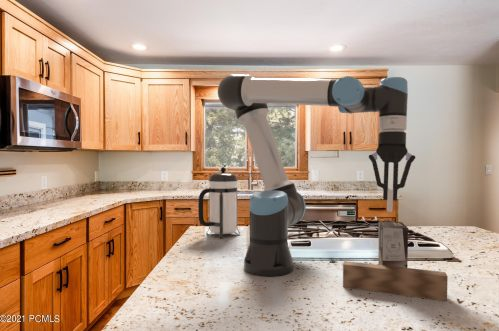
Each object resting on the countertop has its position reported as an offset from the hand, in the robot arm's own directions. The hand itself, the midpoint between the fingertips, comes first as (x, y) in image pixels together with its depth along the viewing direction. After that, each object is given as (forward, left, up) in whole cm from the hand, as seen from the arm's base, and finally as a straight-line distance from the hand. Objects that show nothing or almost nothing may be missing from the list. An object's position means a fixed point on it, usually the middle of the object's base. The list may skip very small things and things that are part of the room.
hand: (389, 211), depth 99 cm
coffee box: (+1, -9, -19) cm, 21 cm away
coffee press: (-68, +24, -19) cm, 74 cm away
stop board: (0, -15, -18) cm, 24 cm away
